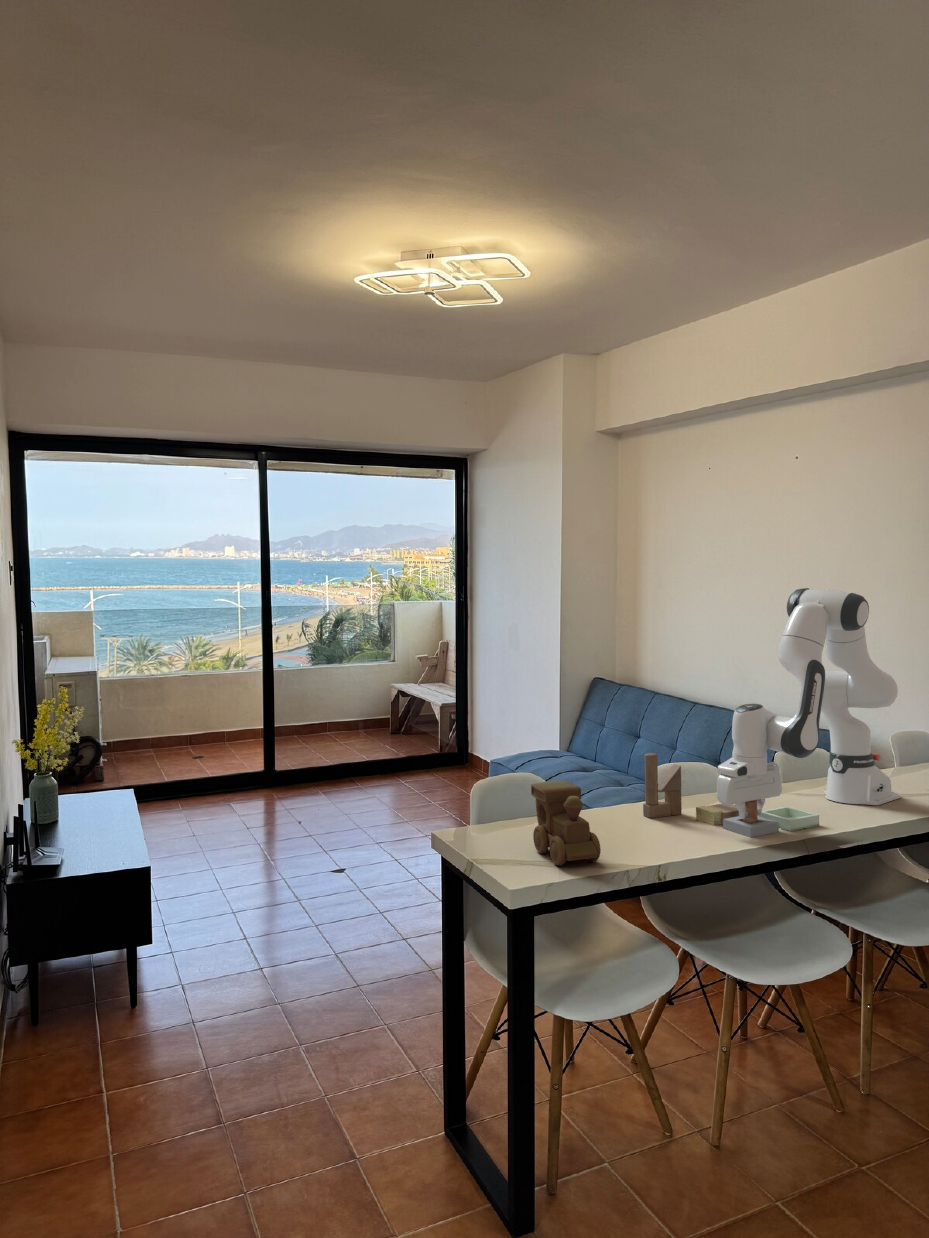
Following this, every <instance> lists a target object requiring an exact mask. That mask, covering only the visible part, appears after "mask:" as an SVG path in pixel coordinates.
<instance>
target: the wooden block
mask: <svg viewBox="0 0 929 1238" xmlns="http://www.w3.org/2000/svg"><path fill="white" fill-rule="evenodd" d="M658 769H659V768H658V754H657V753H653V752H647V753H645V754H644V786H645V787H644V791H645V792H644V793H645V795H644V796H645V798H644V799H645V803H643V804H642V808H643V809H642V815H643V816H644V817H646V818H648V819H655V818H663V817H672V816H671V815H674V816H680V814H681V815H682V765H679V764H676V763H673V765H672V766H671V767H670V768H669V770H668V771H667V772H666V774H664V776H663V777H662V778H661V780H660V781H659V776H658V775H659V774H658V773H659V771H658ZM659 793H664V801H659Z"/></svg>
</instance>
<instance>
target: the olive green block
mask: <svg viewBox="0 0 929 1238" xmlns="http://www.w3.org/2000/svg"><path fill="white" fill-rule="evenodd" d="M707 806H708V805H700V806H696V807H695V816H696V818H695V819H696V820H698V821H700V822H703V823H706V824H709V825H712V826H717V825H723V824H722V811H720V810H717V809H713V808H710V807H707Z"/></svg>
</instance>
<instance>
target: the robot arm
mask: <svg viewBox="0 0 929 1238" xmlns="http://www.w3.org/2000/svg"><path fill="white" fill-rule="evenodd" d="M786 613H787V616H788V619H787V622H786V623H785V627H784V628H783V632H782V634H781V638H780V642H779V644H778V649H777V656H778V660H779V662H780V664H781V665H782V667H783V668H784V669H785V670H786V671H788V672H789V673H790V674H792V675H793V676H795V677H796V679H797V680H798V683H799V693H798V699H797V707H796V711H795V714H794V716H793V717H792V716H791V717H790V716H784V715H781V714H777V713H774V712H772V711H769V710H768V709H767V708H765V707H764V705H762V704H760V703H746V704H741V705H739V706H738V707H736V708H735V709H734V711H733V716H732V721H731V722H732V723H731V738H732V742H733V749H732V753H731V754H732V755H731V757H730V758H728V759H727V760H725V761H724V762H723V763H720V764H719V765H717V773H718V774H719V775H718V777H717V782H716V799H717V801H718V802H719V804H726V805H730V804H734V805H736V807H737V809H738V811H739V817H740V818H747V817H748V812H747V811H745V809H744V807H743V806H745V802H748V801H753V800H757V816H760V815H762V811H763V810H762V809H763V808H764V806H765V803H766V799H770V798H774V797H775V798H776V797H780V796H781V794H782V793H783V788H782V787H783V786H782V777H781V774H780V767H779V765H778V764H777V763H775V762H774V761H770V762H768V752H767V751H768V750H772V751H774V752H778V753H783V754H786V755H788V756H792V757H794V758H797V759H805V758H807V757H809V756H810V755H812V754H813V753H814V752H815V751H816V750H817V747H818V746H819V744H820V719H821V713H822V714H823V716H824V717H825V720H826V722H827V725H828V729H829V739H830V751H829V755H828V759H829V760H828V762H829V764H830V767H828V769H827V779H826V780H827V781H826V789H824V791H823V792H824V795H825V798H826V799H827V800H830V801H834V802H836V803H841V804H850V805H869V806H881V805H883V804H887V803H889V802H892V801H895V800H897V799H900V798H901V794H900V793H898V792H896V791H893V789H892V783H891V778H890V777H889V776H888V774H886V773H885V772H883V771H882V770H881V769H880V768H879V767H877V765H876V762H875V761H877V762H879V761H880V760H881V757H882V756H881V754H880V753H874V752H873V753H871V751H872V750H871V748H872V747H871V744H872V742H871V738H872V737H871V729H870V727H869V725H867V723H865V722H864V721H862V720H861V719H859V718H856V717H854V716H853V715H852V714H851V713H850V711H849V708H857V709H858V708H859V709H881V708H886V707H890V706H892V704H894V702H895V701H896V699H897V698H898V694H899V693H898V691H899V690H898V684H897V682H896V679H894V677H893V676H892V675H890V674H889V673H887V672H885V671H883V670H882V669H881V668H879V667H878V666H877V665H876V664H875V663H874V661H873V660H872V659H871V657H870V655H869V650H868V647H867V639H866V630H865V625H866V624H867V622H868V619H869V614H870V606H869V602H868V601H867V599H866V598H865V597H864V596H863V595H860V594H858V593H855V592H846V591H841V590H837V589H836V590H835V589H822V588H819V589H817V588H816V589H814V588H812V589H810V588H807V587H804V588H798V589H796V590H794V591H793V592H792V593H791V594H790V595H789V596H788V600H787V602H786ZM824 646H825V654H826V658H827V659H828V661H829V662H830V663H831V664H832V665H833V666H835V667H837V668H840V669H841V670H830V669H829V670H826V668H825V666H824V665H823V661H822V657H823V650H824Z"/></svg>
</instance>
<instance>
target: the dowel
mask: <svg viewBox="0 0 929 1238" xmlns="http://www.w3.org/2000/svg"><path fill="white" fill-rule="evenodd" d="M743 807H744V809H745V811H747V812H748V817H747V818H743V822H745V823H748V824H754V823H758V819H757V800H753V801H748V802H745V806H743Z"/></svg>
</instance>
